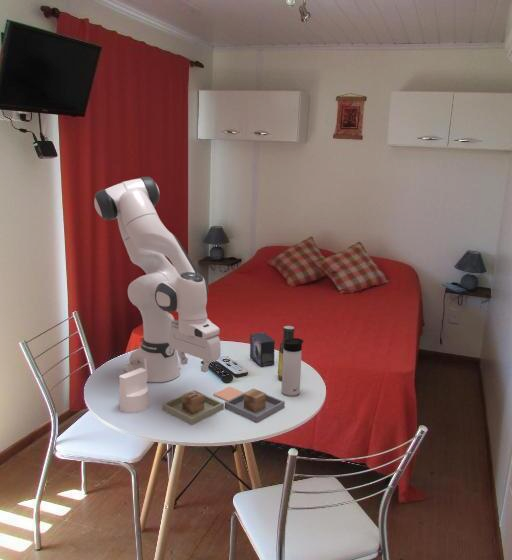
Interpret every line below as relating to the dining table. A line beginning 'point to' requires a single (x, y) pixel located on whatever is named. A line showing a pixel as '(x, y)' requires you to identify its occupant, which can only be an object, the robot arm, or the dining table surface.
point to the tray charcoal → (238, 408)
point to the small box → (262, 349)
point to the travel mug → (291, 367)
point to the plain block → (254, 400)
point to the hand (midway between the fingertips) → (194, 367)
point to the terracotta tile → (228, 393)
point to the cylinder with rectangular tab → (133, 391)
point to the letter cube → (193, 402)
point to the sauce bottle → (287, 335)
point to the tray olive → (209, 409)
